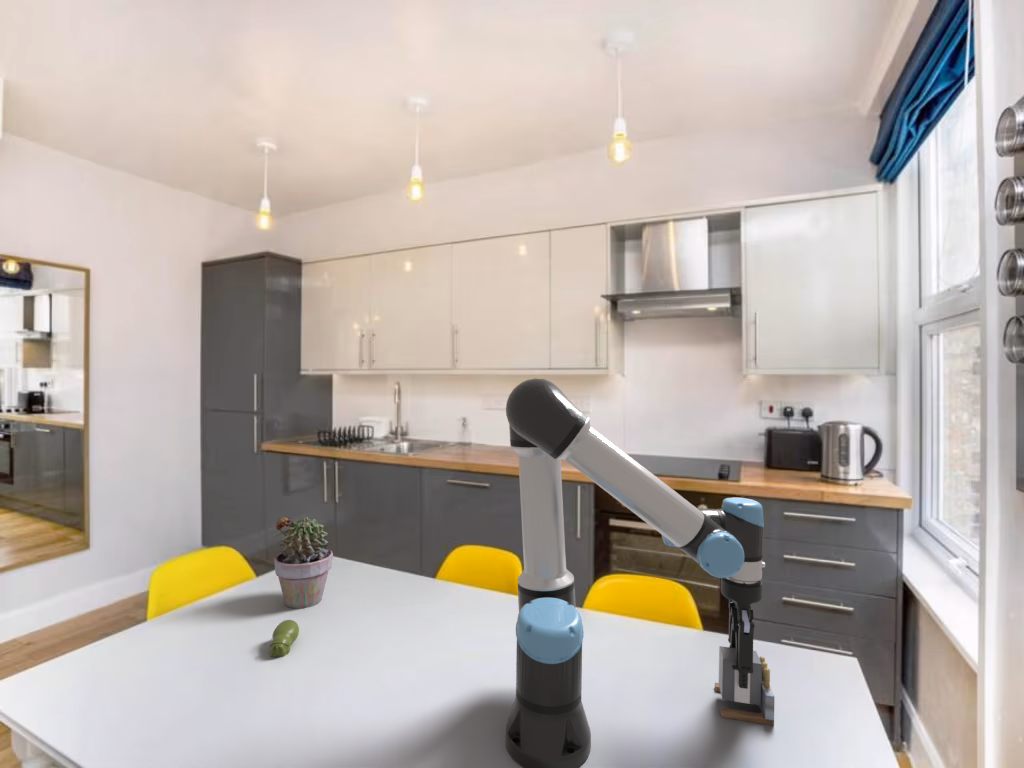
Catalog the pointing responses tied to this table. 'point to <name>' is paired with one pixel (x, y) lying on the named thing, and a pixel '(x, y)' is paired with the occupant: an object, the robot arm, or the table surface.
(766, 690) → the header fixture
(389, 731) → the table surface
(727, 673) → the plug block
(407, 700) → the table surface
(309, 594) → the potted plant
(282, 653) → the green rounded oblong piece
